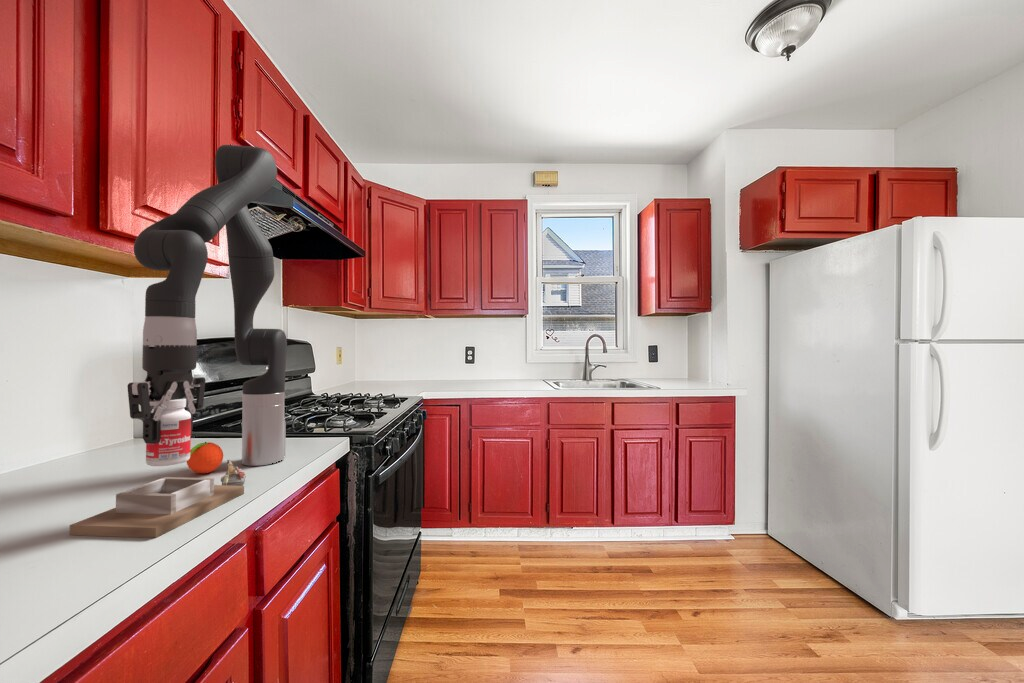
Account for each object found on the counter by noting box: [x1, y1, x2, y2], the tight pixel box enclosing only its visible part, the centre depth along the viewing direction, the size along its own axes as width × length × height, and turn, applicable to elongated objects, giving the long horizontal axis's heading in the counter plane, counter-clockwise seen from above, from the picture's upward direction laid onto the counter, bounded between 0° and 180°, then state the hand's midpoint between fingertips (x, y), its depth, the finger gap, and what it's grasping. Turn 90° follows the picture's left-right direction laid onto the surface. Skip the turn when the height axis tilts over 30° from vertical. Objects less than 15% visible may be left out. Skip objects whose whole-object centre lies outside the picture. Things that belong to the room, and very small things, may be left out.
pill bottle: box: [145, 398, 192, 467], centre depth 78 cm, size 6×6×11 cm
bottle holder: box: [69, 476, 245, 539], centre depth 77 cm, size 20×14×4 cm
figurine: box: [220, 459, 247, 486], centre depth 91 cm, size 5×4×6 cm
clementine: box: [186, 441, 224, 475], centre depth 100 cm, size 8×7×7 cm
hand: (169, 438), depth 78 cm, fingers closed on pill bottle, 6 cm apart
